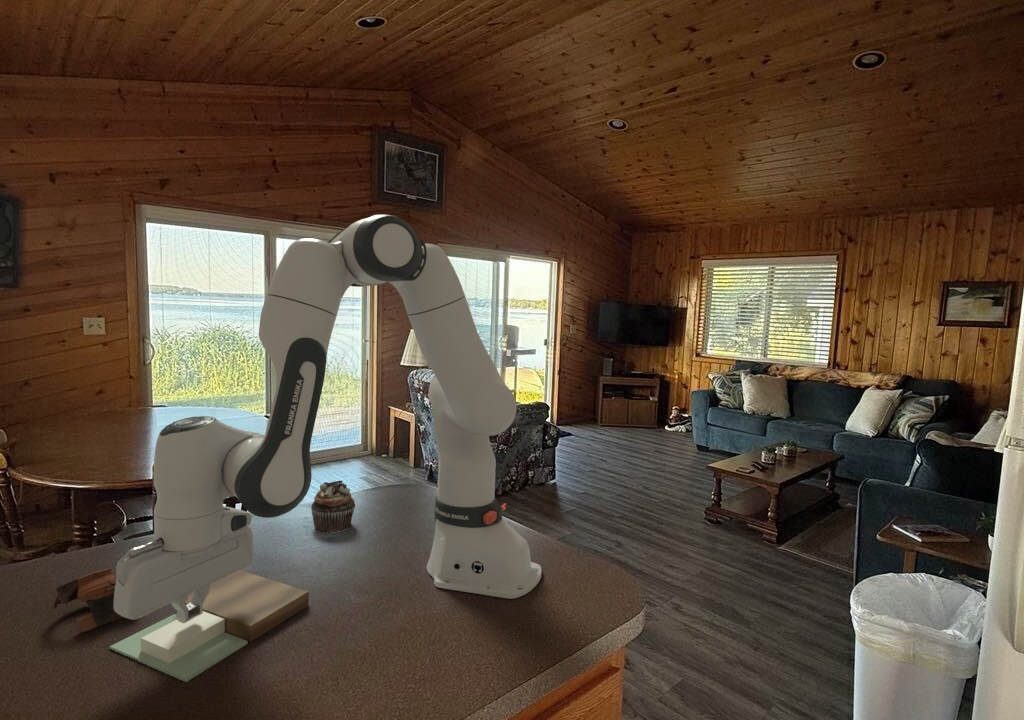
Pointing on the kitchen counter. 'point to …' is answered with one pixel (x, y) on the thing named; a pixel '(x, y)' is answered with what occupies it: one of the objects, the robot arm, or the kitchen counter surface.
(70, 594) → the pottery mug
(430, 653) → the kitchen counter surface
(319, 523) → the cupcake
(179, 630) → the cream rectangular block
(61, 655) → the kitchen counter surface
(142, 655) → the mat
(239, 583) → the board
